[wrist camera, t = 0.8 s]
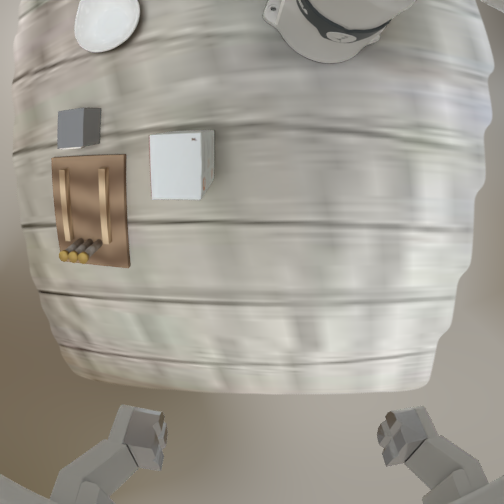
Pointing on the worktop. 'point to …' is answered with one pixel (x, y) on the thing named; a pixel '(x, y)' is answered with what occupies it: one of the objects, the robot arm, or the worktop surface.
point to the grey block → (78, 127)
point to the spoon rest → (105, 23)
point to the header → (91, 209)
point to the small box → (181, 164)
